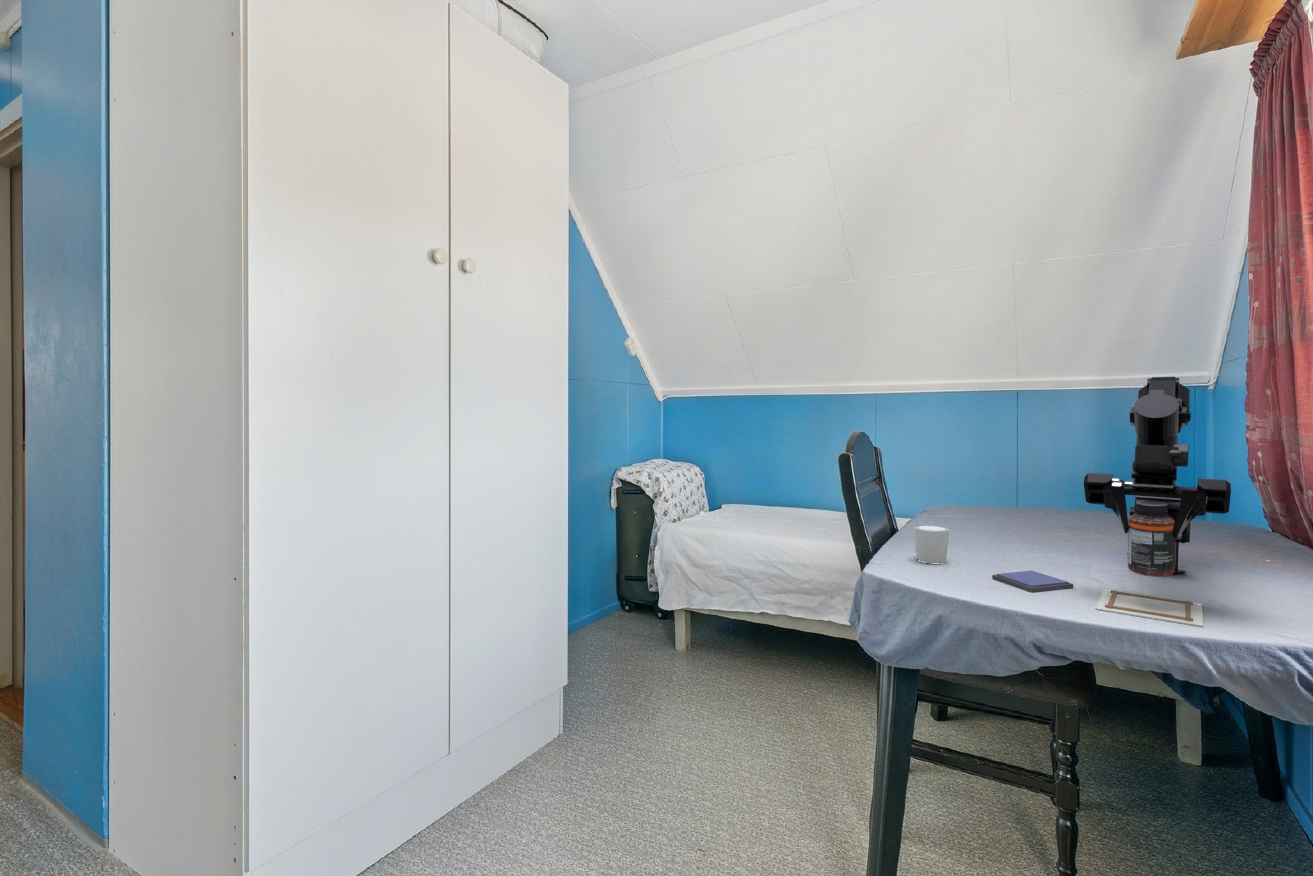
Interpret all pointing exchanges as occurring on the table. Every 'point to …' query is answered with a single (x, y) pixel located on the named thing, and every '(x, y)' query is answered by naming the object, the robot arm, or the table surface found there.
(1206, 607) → the table surface
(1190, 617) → the marked sheet
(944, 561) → the white short cylinder
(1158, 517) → the supplement bottle
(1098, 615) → the table surface
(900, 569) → the table surface
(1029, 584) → the ink pad
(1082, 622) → the table surface
